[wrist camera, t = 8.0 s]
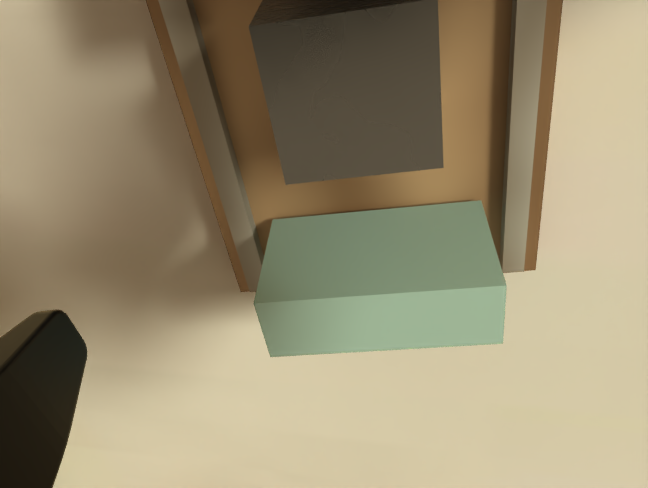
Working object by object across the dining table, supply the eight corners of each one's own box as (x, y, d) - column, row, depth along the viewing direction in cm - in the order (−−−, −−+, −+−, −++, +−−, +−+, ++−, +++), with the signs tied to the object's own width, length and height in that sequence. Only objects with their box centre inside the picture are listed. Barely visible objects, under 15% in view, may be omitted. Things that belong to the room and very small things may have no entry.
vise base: (582, -331, 13) (696, -402, 8) (529, 254, 23) (568, 358, 18) (88, -225, 14) (-33, -238, 10) (244, 276, 24) (219, 377, 20)
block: (426, 88, 18) (443, 167, 14) (302, 104, 18) (285, 184, 14) (419, -51, 15) (438, -2, 11) (277, -28, 16) (248, 26, 12)
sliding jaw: (481, 200, 20) (506, 285, 16) (480, 254, 21) (503, 343, 18) (272, 219, 21) (253, 303, 17) (285, 270, 22) (270, 357, 19)
